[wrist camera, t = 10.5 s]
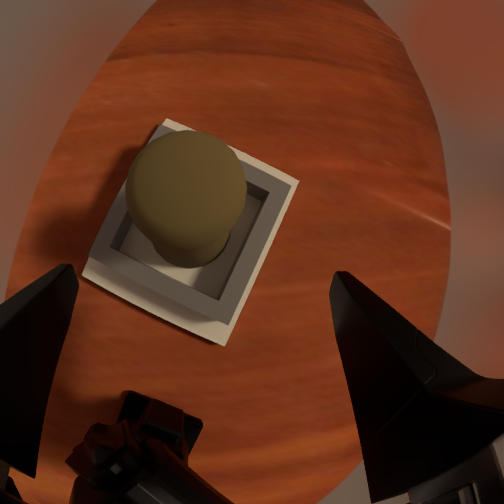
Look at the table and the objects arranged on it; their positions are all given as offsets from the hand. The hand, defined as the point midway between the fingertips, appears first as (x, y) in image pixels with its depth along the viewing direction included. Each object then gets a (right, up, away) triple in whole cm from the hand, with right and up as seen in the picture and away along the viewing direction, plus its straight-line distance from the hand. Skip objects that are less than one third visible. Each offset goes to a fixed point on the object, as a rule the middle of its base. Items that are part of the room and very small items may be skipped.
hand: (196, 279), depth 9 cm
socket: (-3, +3, +13) cm, 13 cm away
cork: (-3, +3, +12) cm, 13 cm away
